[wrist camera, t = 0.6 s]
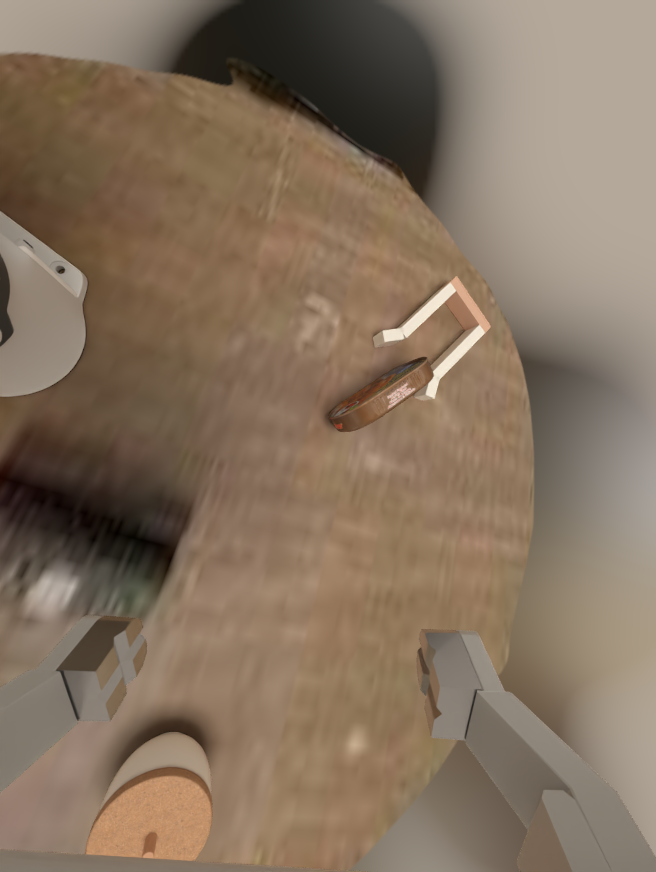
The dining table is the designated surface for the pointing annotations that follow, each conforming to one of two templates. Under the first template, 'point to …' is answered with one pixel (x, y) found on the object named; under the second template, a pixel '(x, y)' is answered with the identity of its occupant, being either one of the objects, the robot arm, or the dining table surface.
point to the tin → (382, 395)
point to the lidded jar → (157, 803)
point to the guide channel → (474, 329)
